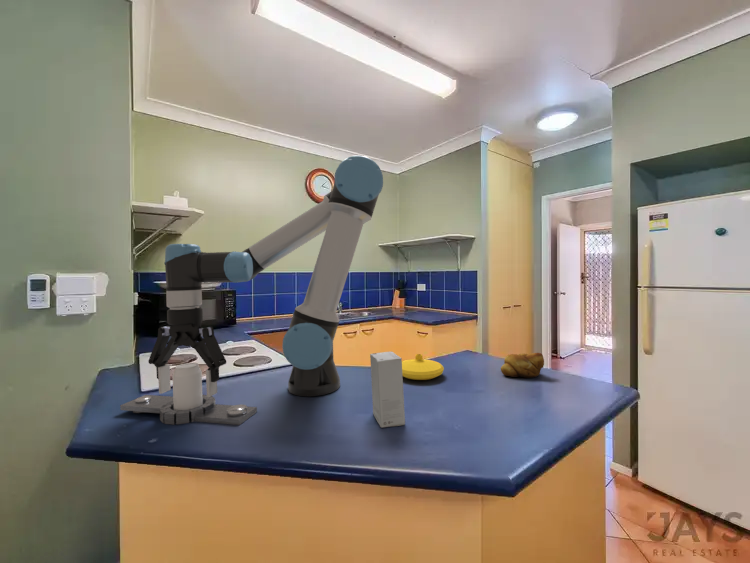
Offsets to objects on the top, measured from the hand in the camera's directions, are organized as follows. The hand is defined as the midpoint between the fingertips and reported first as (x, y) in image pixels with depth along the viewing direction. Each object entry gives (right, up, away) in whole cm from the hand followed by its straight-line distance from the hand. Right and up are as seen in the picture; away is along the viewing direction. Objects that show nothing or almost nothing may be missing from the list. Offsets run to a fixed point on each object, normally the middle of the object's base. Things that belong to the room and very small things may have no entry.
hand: (188, 393), depth 80 cm
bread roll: (+93, -3, +24) cm, 96 cm away
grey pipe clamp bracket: (0, -5, 0) cm, 5 cm away
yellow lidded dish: (+61, -3, +25) cm, 66 cm away
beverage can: (0, -5, 0) cm, 5 cm away
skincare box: (+49, -4, -5) cm, 50 cm away
